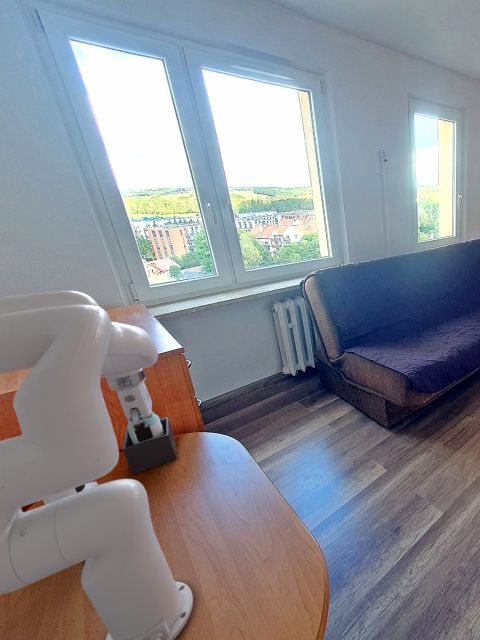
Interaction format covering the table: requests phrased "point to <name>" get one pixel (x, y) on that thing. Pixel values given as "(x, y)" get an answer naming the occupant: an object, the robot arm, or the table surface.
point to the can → (154, 426)
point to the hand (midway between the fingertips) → (146, 431)
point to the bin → (150, 449)
